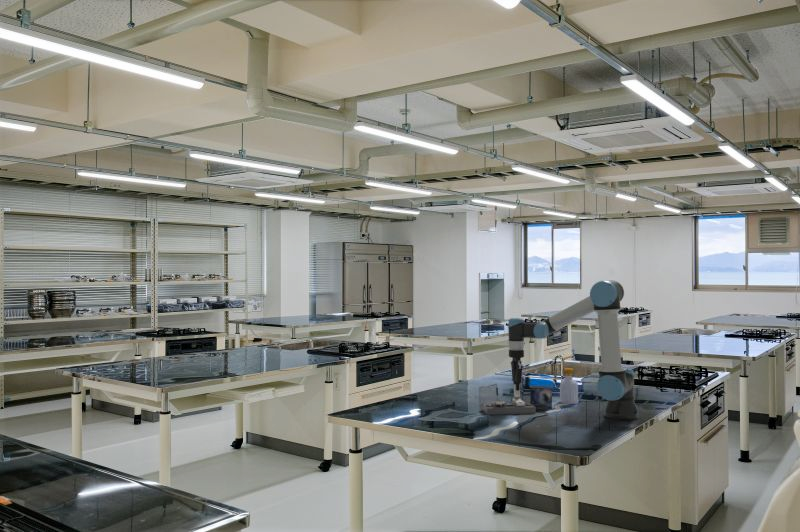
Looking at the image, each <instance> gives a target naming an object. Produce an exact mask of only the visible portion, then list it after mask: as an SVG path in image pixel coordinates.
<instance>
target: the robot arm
mask: <svg viewBox="0 0 800 532" xmlns="http://www.w3.org/2000/svg"><path fill="white" fill-rule="evenodd" d="M624 296H625V291H624V287H623V285H622V284H621V283H620V282H618V281H616V280H612V279H610V280H607V279H605V280H600V281H597V282H595V283H594V284H593V285H592V287H591V288H590V291H589V296H587V297H585V298H584V299H581V300H580V301H577V302H576V303H574V304H572V305H570V306H568V307H566V308H564V309H562V310H561V311H558V312H557V313H555V314H553V315H551V316H549V317H547V318H546V319H544V320H542V321H537V322H525V321H524V318H523V317H522V318H520V317H511V318H510V319H508V325H507V326H508V327H507V328H508V329H507V330H508V341H507V342H508V357H509V358H512V359H511V361H510V367H511V377H512V378H511V379H512V380H511V381H512V382H513V397H514V398H521V384H522V379H523V378H522V377H523V364H522V361H521V358H524V357H525V350H524V349H525V343H526V342H525V341H524V340H525V339H541V340H543V339H547V338H548V336H550V335H552V334H554V333H555V332H557V331H559V330H561V329H563V328H565V327H566V326H568V325H570V324H572V323H574V322H576V321H578V320H580V319H582V318H584V317H586V316H588V315H590V314H593V313H596V314H597V323H598V337H599V349H600V365H601V366H600V367H599V368H598V374H599V378H598V379H597V383H596V390H597V393H598V394H599V395H600V396H601V398H603V399H604V400H607V401H606V405H605V408H604V410H603V411H604V415H603V416H604V417H606V418H608V419H611V418H613V419H612V420H617V419H634V420H637V419H639V412H638V409H637V408H638V407H637V405H636V403H635V375H634V370H633V369H631V368H624V367H623V366H622V356H621V346H620V345H621V343H620V332H619V318H618V317H619V315H618V313H619V312H620V311H621V301H622V300H623V299H624ZM636 418H637V419H636Z"/></svg>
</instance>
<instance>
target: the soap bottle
mask: <svg viewBox="0 0 800 532" xmlns="http://www.w3.org/2000/svg"><path fill="white" fill-rule="evenodd" d="M572 357H573V356H572V355H568V356H565V357H563V358H562V368H563V370H564V371H565V372H566V373H565V378H564V379H563V380H561V381H560V383H559V402H560V403H561V404H565V405H577V404H578V403H579V384H578V382H577V381H576V380H574V379H573V374H572V373H571V372H572V371H574V368H572V367H570V368H569V367H568V368H566V367H565V360H568V359H570V358H572Z"/></svg>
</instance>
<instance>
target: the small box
mask: <svg viewBox="0 0 800 532" xmlns="http://www.w3.org/2000/svg"><path fill="white" fill-rule="evenodd" d="M529 387H530V389H529V391H530V393H529V396H530V397H529V398H530V402H529V403H530V404H532V405H533V406H535V407H536V408H537V407H548V408H549V409H553V388H552V386H551V385H530V386H529ZM549 409H548V410H549Z"/></svg>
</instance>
